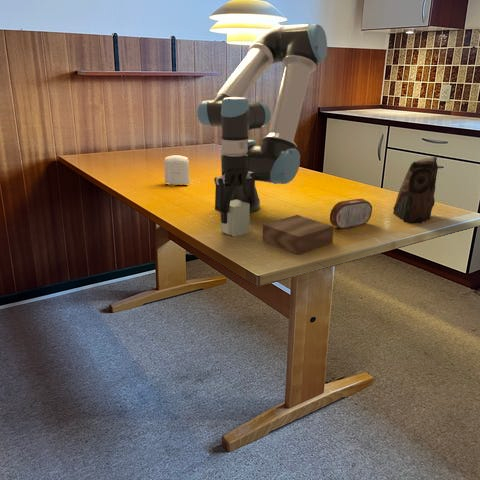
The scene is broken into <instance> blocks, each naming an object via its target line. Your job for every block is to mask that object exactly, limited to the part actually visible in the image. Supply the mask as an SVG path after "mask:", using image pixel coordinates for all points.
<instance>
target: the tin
mask: <svg viewBox="0 0 480 480" xmlns="http://www.w3.org/2000/svg"><path fill="white" fill-rule="evenodd" d="M372 212H373V206H372V204H371V202H369V201H368V200H365V199H364V198H355V199H348V200H347V199H346V200H341V201H338V202H337V203H335V204H334V206H333V207H332V209H331V211H330V214H329V221H330V225H332V226H334V227H335V228H338V229H341V230H342V229H349V228H355V227H360V226H364V225H366V224H367V223H368V222H369V221H370V219H371V217H372Z"/></svg>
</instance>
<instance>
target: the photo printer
mask: <svg viewBox="0 0 480 480" xmlns="http://www.w3.org/2000/svg"><path fill="white" fill-rule="evenodd" d="M163 163H164V184H165V183H169V184H189V185H190V161H189V157H186V156H184V155H183V156H182V155H179V154H177V155H176V154H175V155H168V156H166V157H165V158H164V162H163Z"/></svg>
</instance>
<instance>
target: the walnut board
mask: <svg viewBox="0 0 480 480" xmlns="http://www.w3.org/2000/svg"><path fill="white" fill-rule="evenodd" d="M334 228H335V226H333V225H332V224H328V223H324V222H321V221H318V220H316V219H311V218H309V217H305V216H302V215H299V214H295V215H292V216H288V217H285V218H280V219H277V220H273V221H270V222H266V223H263V224H262V242H265V243H267V244H269V245H272V246H274V247H278V248H280V249H283V250H285V251H287V252H290V253H293V254H296V255H301V254H304V253H307V252H310V251H312V250H315V249H319V248H321V247H324V246H327V245H329V244H333V239H334Z"/></svg>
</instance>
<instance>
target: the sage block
mask: <svg viewBox="0 0 480 480" xmlns="http://www.w3.org/2000/svg"><path fill="white" fill-rule="evenodd" d="M228 212H229V213H230V234H229V235H228V236H231V235H232V236H231V237H233V236H235V237H239V236H242V235H246V234H248V233H250V204H249V203H246V202H243V201H240V200H232V201H230V205H229V210H228ZM220 225H221V226H220V227H221V228H220V229H221V230H220V231H222V232H221V233H223V223H221V222H220ZM245 233H246V234H245ZM238 235H239V236H238Z"/></svg>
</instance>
